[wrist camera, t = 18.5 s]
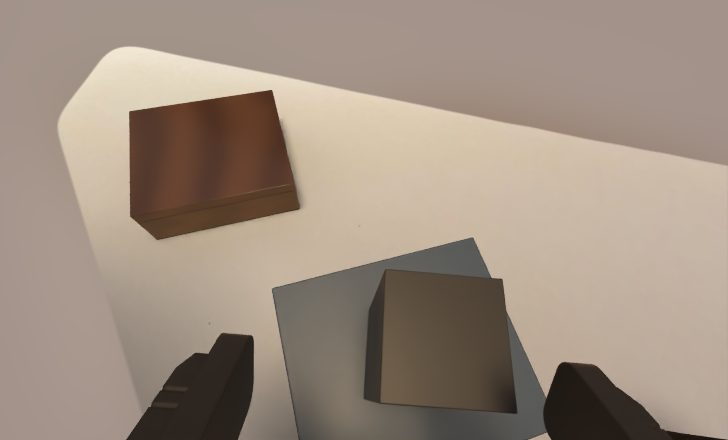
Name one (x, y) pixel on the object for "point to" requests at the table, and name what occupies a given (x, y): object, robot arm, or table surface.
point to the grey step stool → (348, 358)
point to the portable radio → (688, 436)
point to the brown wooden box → (208, 164)
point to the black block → (439, 343)
